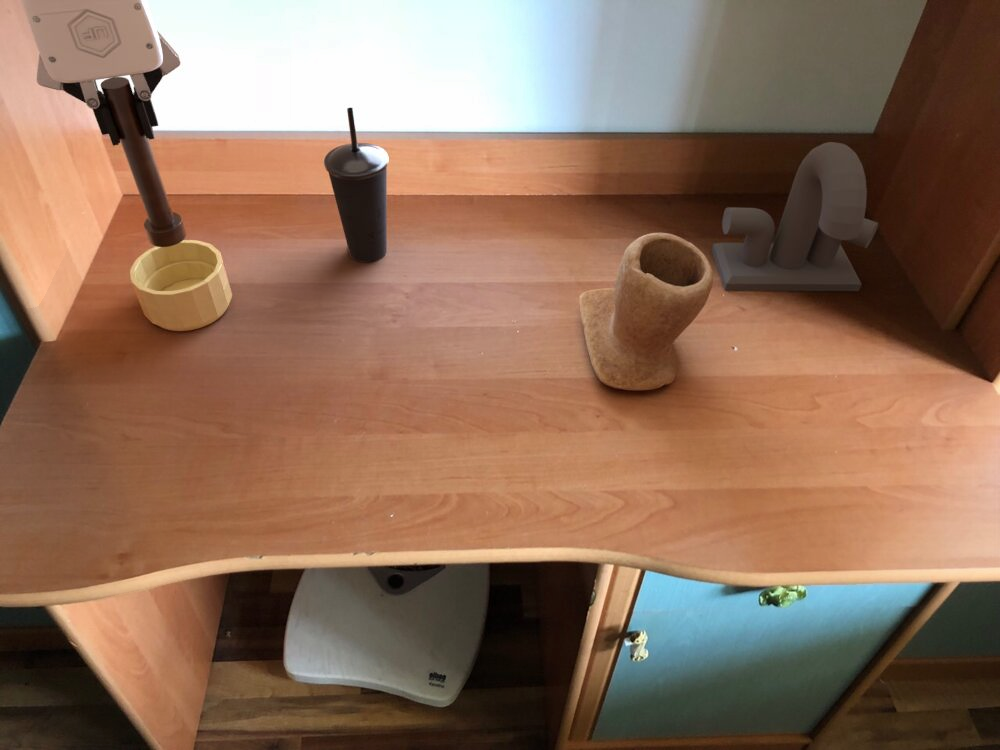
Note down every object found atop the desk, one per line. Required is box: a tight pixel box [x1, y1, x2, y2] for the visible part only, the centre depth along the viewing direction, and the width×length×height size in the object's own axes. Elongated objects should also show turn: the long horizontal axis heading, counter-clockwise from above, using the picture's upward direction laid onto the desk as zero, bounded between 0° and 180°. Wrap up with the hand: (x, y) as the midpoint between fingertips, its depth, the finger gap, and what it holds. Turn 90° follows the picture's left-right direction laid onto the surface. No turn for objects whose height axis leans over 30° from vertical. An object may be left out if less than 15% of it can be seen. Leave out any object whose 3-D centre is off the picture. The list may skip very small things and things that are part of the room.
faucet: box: [710, 141, 879, 292], centre depth 94 cm, size 18×16×20 cm
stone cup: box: [578, 232, 714, 392], centre depth 87 cm, size 15×12×15 cm
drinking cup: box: [323, 107, 390, 263], centre depth 97 cm, size 8×8×20 cm
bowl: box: [129, 239, 233, 332], centre depth 94 cm, size 10×10×6 cm
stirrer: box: [100, 76, 187, 247], centre depth 83 cm, size 4×4×18 cm
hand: (132, 134), depth 80 cm, fingers closed on stirrer, 2 cm apart
